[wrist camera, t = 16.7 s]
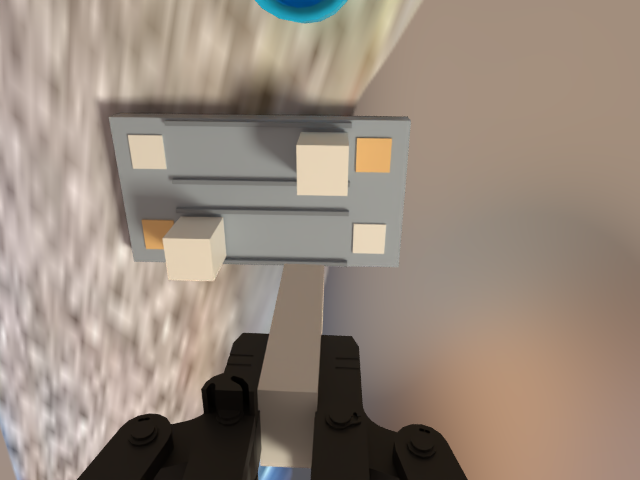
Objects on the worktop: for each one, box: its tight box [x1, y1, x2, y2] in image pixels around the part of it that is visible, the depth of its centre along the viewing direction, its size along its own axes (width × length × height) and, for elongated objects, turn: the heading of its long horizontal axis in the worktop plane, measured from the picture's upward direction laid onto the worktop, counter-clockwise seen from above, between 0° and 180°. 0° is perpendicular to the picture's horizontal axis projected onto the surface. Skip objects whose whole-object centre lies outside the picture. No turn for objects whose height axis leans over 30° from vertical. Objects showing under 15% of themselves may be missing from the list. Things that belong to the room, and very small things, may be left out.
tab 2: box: [296, 132, 349, 196], centre depth 39 cm, size 4×4×5 cm
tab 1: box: [162, 216, 226, 281], centre depth 42 cm, size 4×4×5 cm
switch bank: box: [109, 113, 411, 267], centre depth 44 cm, size 14×26×2 cm, turn 90°
